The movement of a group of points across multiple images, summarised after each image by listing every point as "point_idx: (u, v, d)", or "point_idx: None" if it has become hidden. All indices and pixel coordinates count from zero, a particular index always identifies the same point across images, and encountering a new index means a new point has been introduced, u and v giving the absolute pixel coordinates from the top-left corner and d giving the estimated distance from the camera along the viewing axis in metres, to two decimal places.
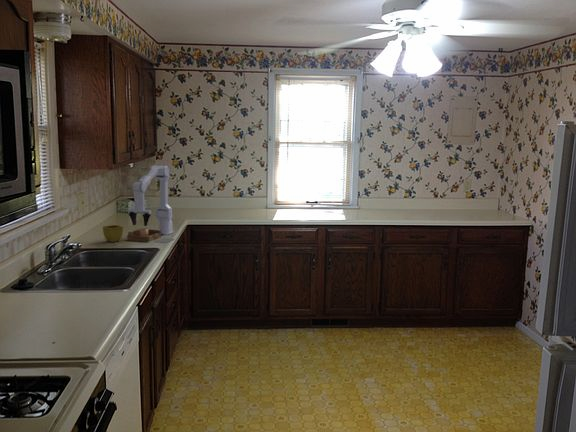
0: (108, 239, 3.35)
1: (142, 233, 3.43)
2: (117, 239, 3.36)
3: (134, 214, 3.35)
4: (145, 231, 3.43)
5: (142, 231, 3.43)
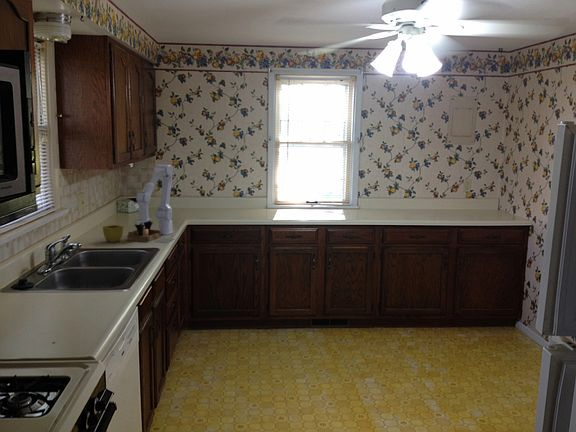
0: (108, 239, 3.35)
1: None
2: (117, 239, 3.36)
3: (147, 223, 3.48)
4: (145, 231, 3.43)
5: None
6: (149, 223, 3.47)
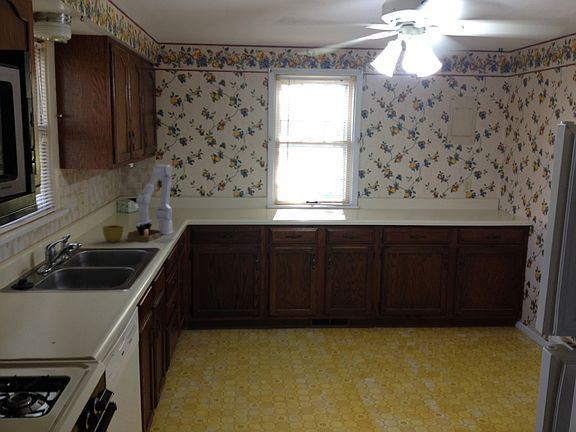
0: (108, 239, 3.35)
1: None
2: (117, 239, 3.36)
3: (146, 225, 3.47)
4: (145, 231, 3.43)
5: None
6: (148, 225, 3.47)
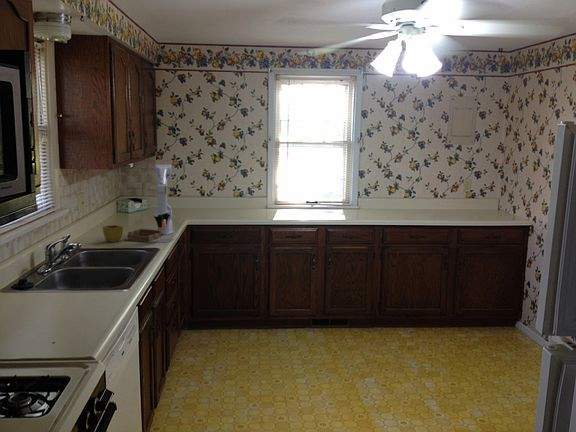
0: (108, 239, 3.35)
1: None
2: (117, 239, 3.36)
3: (164, 215, 3.42)
4: (163, 221, 3.38)
5: None
6: (166, 215, 3.42)
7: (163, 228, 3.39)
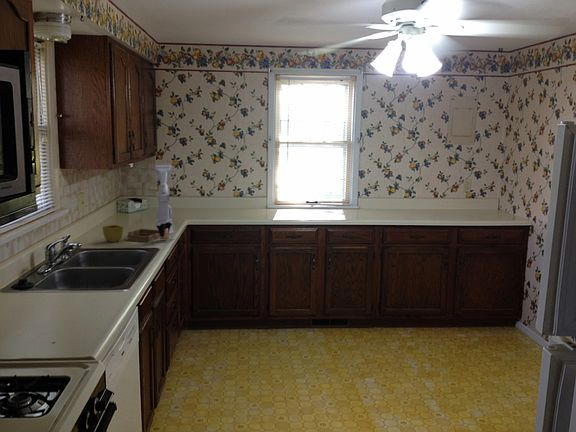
0: (108, 239, 3.35)
1: None
2: (117, 239, 3.36)
3: (166, 224, 3.43)
4: (165, 230, 3.39)
5: None
6: (168, 224, 3.42)
7: (165, 237, 3.39)
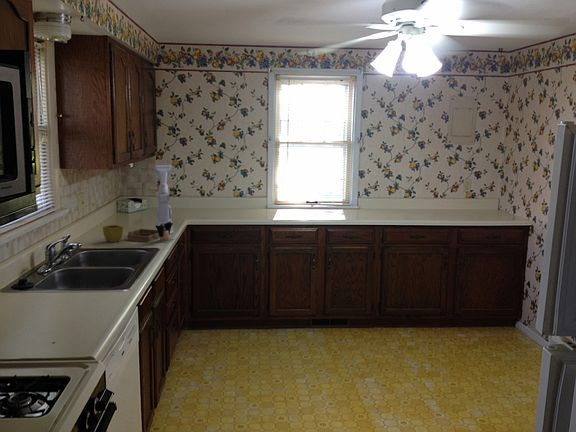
0: (108, 239, 3.35)
1: None
2: (117, 239, 3.36)
3: (167, 224, 3.44)
4: (165, 232, 3.39)
5: None
6: (169, 224, 3.43)
7: (165, 239, 3.40)
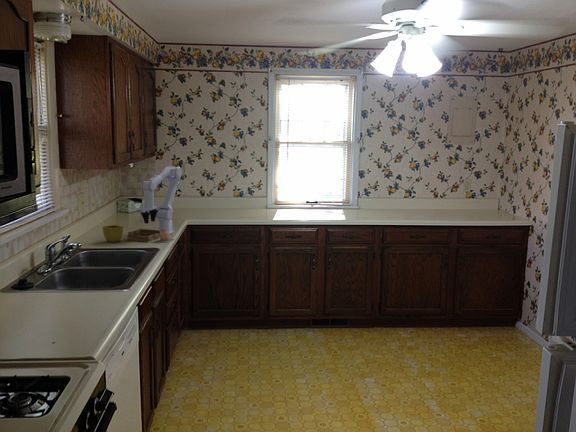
0: (108, 239, 3.35)
1: (162, 234, 3.39)
2: (117, 239, 3.36)
3: (152, 211, 3.51)
4: (165, 232, 3.39)
5: (162, 232, 3.39)
6: (155, 211, 3.51)
7: (165, 239, 3.40)
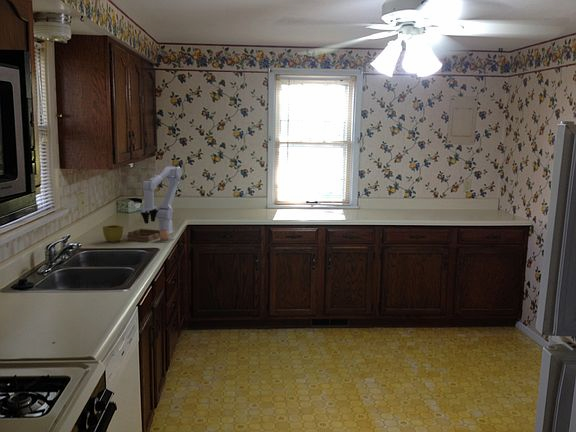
0: (108, 239, 3.35)
1: (162, 234, 3.39)
2: (117, 239, 3.36)
3: (152, 211, 3.51)
4: (165, 232, 3.39)
5: (162, 232, 3.39)
6: (155, 211, 3.51)
7: (165, 239, 3.40)
